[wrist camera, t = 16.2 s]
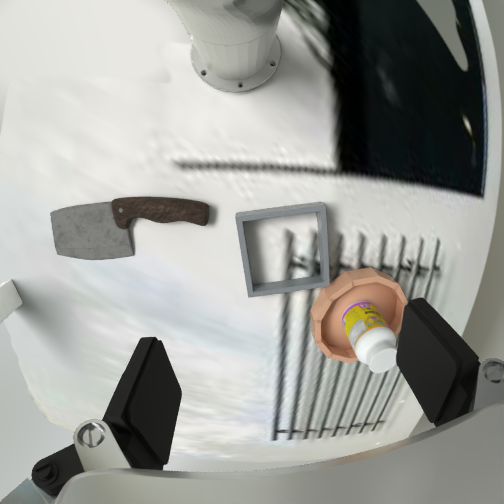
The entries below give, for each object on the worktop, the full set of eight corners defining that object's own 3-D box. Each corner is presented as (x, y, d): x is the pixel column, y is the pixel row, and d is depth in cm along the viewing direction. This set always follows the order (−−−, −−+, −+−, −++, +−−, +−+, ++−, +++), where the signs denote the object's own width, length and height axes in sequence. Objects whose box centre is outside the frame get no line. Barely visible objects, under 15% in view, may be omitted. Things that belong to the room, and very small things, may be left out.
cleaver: (207, 186, 41) (205, 188, 39) (214, 250, 44) (212, 255, 42) (49, 210, 42) (42, 212, 40) (61, 261, 45) (55, 265, 43)
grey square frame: (236, 212, 42) (235, 216, 40) (321, 201, 42) (325, 205, 39) (248, 289, 46) (248, 297, 44) (325, 278, 46) (329, 285, 44)
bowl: (308, 276, 46) (313, 286, 43) (402, 261, 45) (411, 269, 42) (312, 356, 52) (315, 369, 48) (393, 339, 51) (400, 349, 48)
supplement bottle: (381, 308, 47) (413, 352, 35) (357, 335, 49) (382, 383, 37) (356, 291, 46) (387, 336, 34) (332, 320, 48) (354, 370, 36)
